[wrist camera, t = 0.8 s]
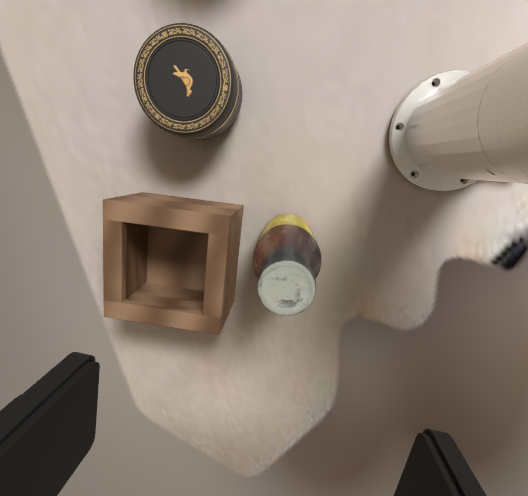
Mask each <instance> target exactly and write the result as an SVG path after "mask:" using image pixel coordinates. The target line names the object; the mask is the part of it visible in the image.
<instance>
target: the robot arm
mask: <svg viewBox="0 0 528 496" xmlns="http://www.w3.org/2000/svg"><path fill="white" fill-rule="evenodd" d="M432 82H433V83H434V84H435V85H434V87H433V86H432ZM396 126H399V130H396ZM389 147H390V153H391V156H392V159H393V162H394V164H395V165H396V167H397V169H398V170H399V172H400V173H401V174H402V175H403V176H404V177H405V178H406V179H407V180H409V181H410V182H412V183H413V184H415V185H417V186H420V187H422V188H425V189H429V190H436V191H449V190H455V189H459V188H463V187H466V186H468V185H470V184H472V183H474V182H476V181H477V180H486V181H499V182H512V183H524V184H528V43H526V44H524V45H522V46H520V47H518V48H517V49H515V50H513V51H511V52H509V53H507V54H505V55H503V56H501V57H499V58H497V59H496V60H494V61H492V62H490V63H488V64H486V65H484V66H482V67H480V68H478V69H476V70H475V71H470V70H450V71H445V72H441V73H438V74H436V75H433V76H431V77H429V78H427V79H426V80H424V81H422V82H421V83H420V84H418V85H417V86H416V87H414V88H413V89H412V90H411V91H410V92H409V93H408V94H407V95H406V96H405V97H404V98H403V100H402V101H401V103H400V104H399V106H398V107H397V109H396V112H395V114H394V116H393V118H392V122H391V126H390V130H389ZM411 172H414V175H413V176H411ZM460 179H462V181H461V182H460ZM99 368H100V366H99V363H98V362H95V357H94V356H92V355H87V354H82V353H78V352H72V353H71V354H69V355H68V356H67V357H66V358H64V359H63V360H62V361H61V362H60V363H59V364H57V365H56V366H55V367H54V368H53V369H51V370H50V371H49V372H48V373H47V374H46V375H44V376H43V377H42V378H41V379H40V380H38V381H37V382H36V383H35V384H34V385H33V386H31V387H30V388H29V389H28V390H27V391H26V392H24V393H23V394H22V395H20V396H18V397H17V398H15V399H14V400H13V401H11V402H10V403H9V404H8V405H7V406H6V407H5V408H3V409H2V410H1V411H0V496H57V495H58V493H59V492H60V491H61V489H62V488H63V486H64V485H65V484H66V482H67V481H68V479H69V478H70V477H71V475H72V474H73V472H74V471H75V470H76V468H77V467H78V465H79V464H80V462H81V461H82V460H83V458H84V457H85V456H86V454H87V453H88V451H89V450H90V448H91V446H92V444H93V442H94V438H95V430H96V429H95V428H96V414H97V399H98V384H99ZM394 496H486V494H485V492H484V491H483V489H482V488H481V486H480V484H479V483H478V481H477V479H476V477H475V476H474V474H473V472H472V471H471V469H470V467H469V465H468V464H467V462H466V460H465V459H464V457H463V455H462V454H461V452H460V450H459V449H458V447H457V445H456V443H455V442H454V440H453V438H452V437H451V436H450V435H449V434H448V433H444V432H439V431H435V430H430V429H425V430H424V431H423V433H419V434H417V436H416V439H415V442H414V444H413V447H412V449H411V452H410V454H409V457H408V460H407V462H406V465H405V468H404V470H403V473H402V475H401V478H400V481H399V483H398V486H397V489H396V491H395V494H394Z"/></svg>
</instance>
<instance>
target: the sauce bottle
mask: <svg viewBox="0 0 528 496" xmlns="http://www.w3.org/2000/svg"><path fill="white" fill-rule="evenodd" d="M253 265H254V270H255V273H256V276H257V277H258V283H257V291H258V295H259V298H260V300H261V302H262V303H263V305H264V306H265V307H266V308H267V309H268V310H270V311H272V312H273V313H275V314H279V315H282V316H290V315H294V314H297V313H300V312H302V311H304V310H305V309H306V308H307V307H308V306H309V305H310V304H311V303H312V302H313V300H314V297H315V293H316V280H315V278H316V277H317V275H318V273H319V271H320V268H321V253H320V249H319V246H318V244H317V242H316V240H315V237H314V235H313V233H312V231H311V228H310V227H309V225H308V224H307V222H306V221H304V220H303V219H302V218H300V217H298V216H296V215H292V214H283V215H278V216H276V217H275V218H273V219H272V220H270V221H269V222H268V223H267V225H266V226H265V228H264V230H263V232H262V234H261V236H260V238H259V241H258V243H257V245H256V248H255V251H254V260H253Z"/></svg>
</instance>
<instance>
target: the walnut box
mask: <svg viewBox="0 0 528 496" xmlns="http://www.w3.org/2000/svg"><path fill="white" fill-rule="evenodd" d="M242 216H243V205H235V204H228V203H220V202H212V201H205V200H197V199H189V198H182V197H174V196H166V195H158V194H151V193H137V194H131V195H126V196H120V197H115V198H109V199H104V200H103V273H104V317H108V318H115V319H121V320H128V321H134V322H141V323H147V324H154V325H161V326H167V327H174V328H180V329H187V330H194V331H200V332H207V333H213V334H220V332H221V329H222V327H223V325H224V322H225V320H226V318H227V315H228V313H229V311H230V309H231V306H232V304H233V302H234V294H235V284H236V274H237V265H238V255H239V245H240V235H241V226H242Z"/></svg>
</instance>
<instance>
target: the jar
mask: <svg viewBox="0 0 528 496" xmlns="http://www.w3.org/2000/svg"><path fill="white" fill-rule="evenodd" d="M134 87H135V92H136V96H137V99H138V101H139V103H140V105H141V107H142V109H143V111H144V112H145V113H146V115H147V116H148V117H149V118H150V119H151V120H152V121H153V122H154V123H155V124H156V125H157V126H159V127H160V128H162V129H163V130H165V131H167V132H169V133H171V134H174V135H176V136H180V137H184V138H191V139H198V140H203V139H210V138H213V137H216V136H218V135H220V134H222V133H223V132H224V131H226V130H227V129H228V128H229V127H230V126H231V125H232V124H233V122H234V121H235V119H236V117H237V115H238V113H239V110H240V107H241V102H242V85H241V80H240V77H239V74H238V72H237V70H236V67H235V64H234V62H233V60H232V58H231V56H230V54H229V53H228V51H227V50H226V48H225V47H224V46H223V45H222V44H221V43H220V42H219V41H218V40H217V38H215V37H214V36H213V35H212V34H211V33H209V32H208V31H206V30H205V29H203V28H201V27H198V26H195V25H192V24H186V23H176V24H171V25H167V26H165V27H162V28H160V29H159V30H157V31H155V32H154V33H153V34H152V35H151V36H149V38H148V39H147V40H146V41H145V42H144V44H143V45H142V47H141V49H140V50H139V53H138V55H137V58H136V61H135V66H134Z"/></svg>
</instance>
